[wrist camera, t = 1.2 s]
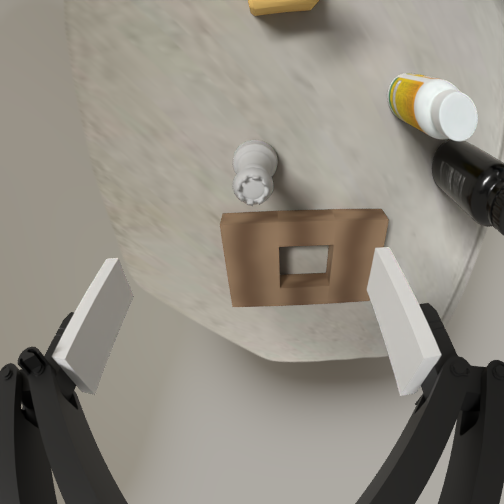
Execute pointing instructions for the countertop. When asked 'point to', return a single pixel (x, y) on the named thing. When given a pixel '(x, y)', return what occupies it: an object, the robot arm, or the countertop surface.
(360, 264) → the walnut socket board
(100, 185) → the countertop surface
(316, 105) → the countertop surface
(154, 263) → the countertop surface
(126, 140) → the countertop surface
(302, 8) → the rubber stamp
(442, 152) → the supplement bottle
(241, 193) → the rook chess piece
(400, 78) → the supplement bottle
